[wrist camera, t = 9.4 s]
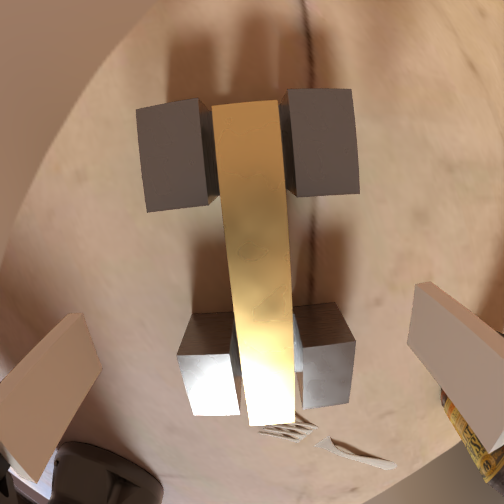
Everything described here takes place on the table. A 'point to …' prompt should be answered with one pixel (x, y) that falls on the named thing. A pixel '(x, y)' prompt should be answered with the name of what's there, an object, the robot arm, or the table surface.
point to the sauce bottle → (477, 448)
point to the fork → (327, 444)
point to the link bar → (258, 253)
